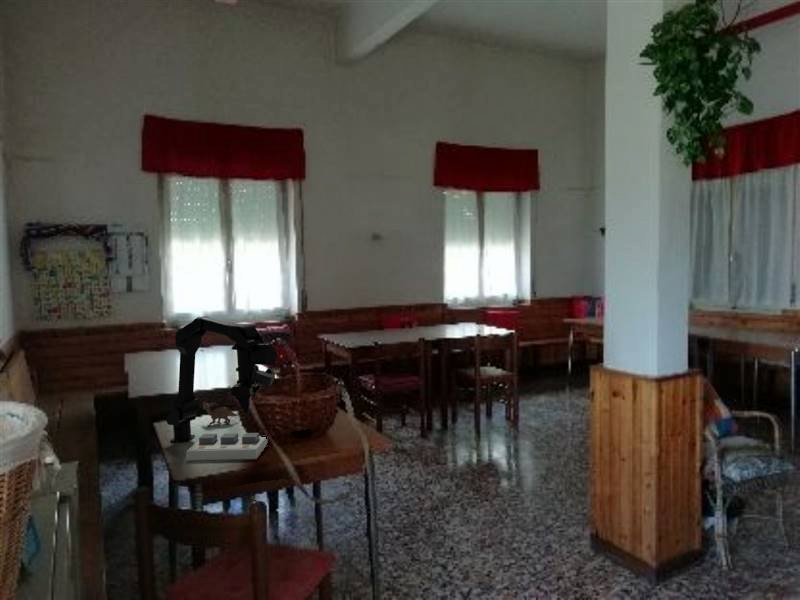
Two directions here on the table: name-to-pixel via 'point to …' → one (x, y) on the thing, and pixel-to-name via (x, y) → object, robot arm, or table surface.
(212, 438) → the button
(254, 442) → the button
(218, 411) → the dinosaur figurine
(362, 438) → the table surface
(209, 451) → the button panel
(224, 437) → the middle button
